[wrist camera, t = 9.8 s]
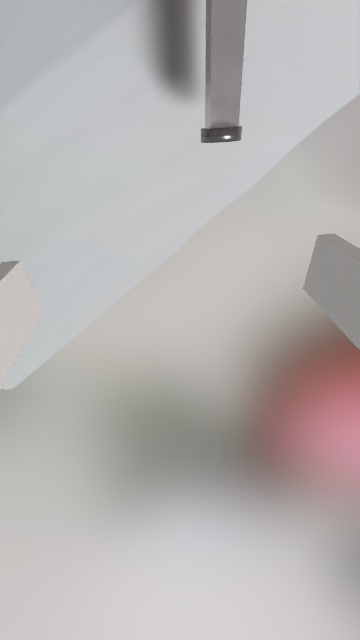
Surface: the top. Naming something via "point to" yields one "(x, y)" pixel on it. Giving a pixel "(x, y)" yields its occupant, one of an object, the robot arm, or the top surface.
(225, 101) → the shaft
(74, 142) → the top surface
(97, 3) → the top surface
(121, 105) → the top surface
